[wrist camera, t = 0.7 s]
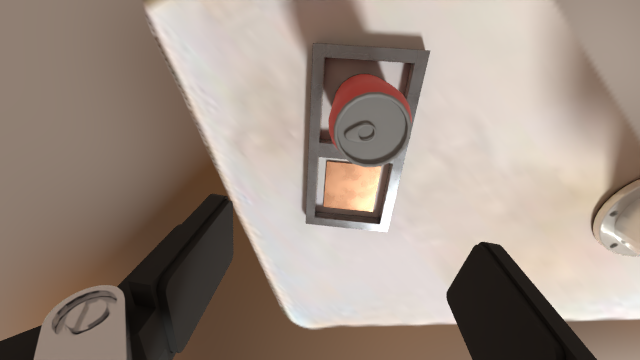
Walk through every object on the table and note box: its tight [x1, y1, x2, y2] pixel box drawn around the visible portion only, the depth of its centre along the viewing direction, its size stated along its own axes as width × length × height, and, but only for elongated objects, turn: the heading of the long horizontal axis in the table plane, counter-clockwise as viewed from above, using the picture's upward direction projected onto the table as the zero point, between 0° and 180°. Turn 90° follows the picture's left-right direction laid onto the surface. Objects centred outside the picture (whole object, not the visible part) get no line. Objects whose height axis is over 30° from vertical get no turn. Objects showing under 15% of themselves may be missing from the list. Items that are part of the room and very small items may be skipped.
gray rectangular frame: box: [306, 43, 430, 232], centre depth 30 cm, size 12×23×2 cm, turn 177°
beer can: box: [329, 74, 412, 167], centre depth 23 cm, size 7×7×12 cm
